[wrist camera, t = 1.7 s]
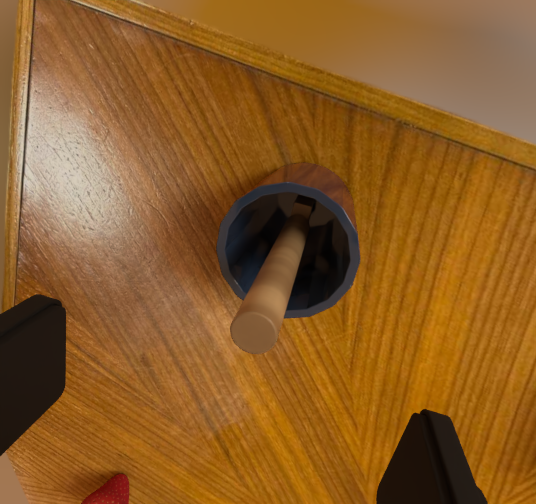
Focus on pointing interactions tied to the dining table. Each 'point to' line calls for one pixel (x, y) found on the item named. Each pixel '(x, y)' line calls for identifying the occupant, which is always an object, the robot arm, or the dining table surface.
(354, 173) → the dining table surface
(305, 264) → the holder
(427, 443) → the robot arm
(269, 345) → the stirring stick
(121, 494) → the fruit
